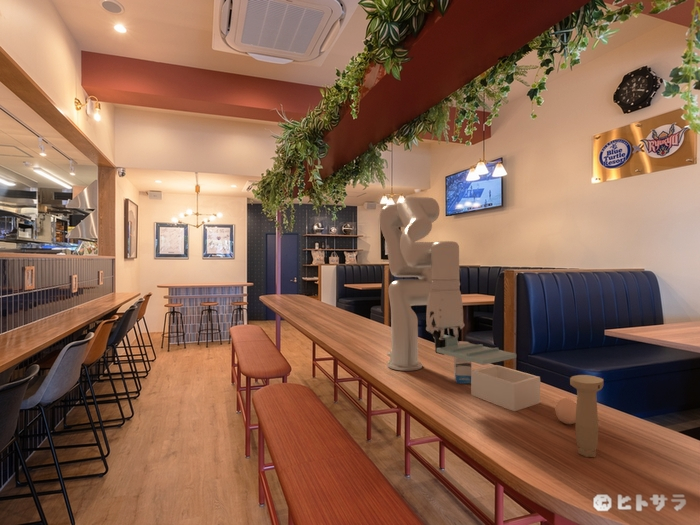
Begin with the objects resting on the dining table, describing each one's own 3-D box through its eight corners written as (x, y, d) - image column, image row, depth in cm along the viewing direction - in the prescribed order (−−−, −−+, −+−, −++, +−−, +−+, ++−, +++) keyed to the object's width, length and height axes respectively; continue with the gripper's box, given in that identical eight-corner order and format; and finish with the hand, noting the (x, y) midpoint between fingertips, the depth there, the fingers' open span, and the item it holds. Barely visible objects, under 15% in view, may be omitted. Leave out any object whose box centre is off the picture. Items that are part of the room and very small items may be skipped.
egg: (550, 421, 92) (550, 396, 92) (565, 417, 94) (565, 393, 94) (570, 429, 87) (569, 403, 87) (585, 425, 89) (585, 400, 89)
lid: (423, 348, 104) (423, 337, 104) (454, 343, 111) (454, 333, 111) (483, 364, 87) (482, 351, 87) (516, 357, 93) (516, 345, 93)
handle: (564, 452, 77) (564, 378, 77) (585, 445, 80) (585, 373, 80) (588, 463, 73) (588, 385, 72) (609, 456, 75) (609, 380, 75)
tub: (471, 394, 110) (471, 370, 109) (496, 388, 115) (496, 364, 115) (514, 411, 98) (514, 384, 97) (540, 402, 103) (540, 377, 103)
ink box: (472, 384, 119) (472, 346, 119) (455, 383, 120) (455, 346, 120) (469, 376, 127) (469, 340, 127) (453, 375, 128) (453, 340, 128)
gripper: (456, 284, 113) (457, 346, 113) (413, 286, 104) (413, 354, 104) (476, 285, 106) (477, 351, 106) (432, 288, 98) (433, 359, 98)
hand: (446, 352), depth 105 cm, fingers closed on lid, 3 cm apart
